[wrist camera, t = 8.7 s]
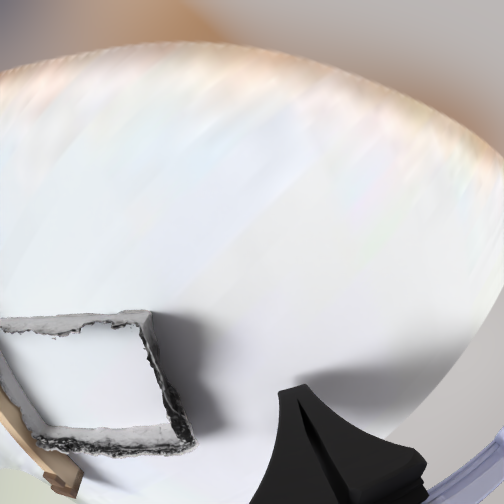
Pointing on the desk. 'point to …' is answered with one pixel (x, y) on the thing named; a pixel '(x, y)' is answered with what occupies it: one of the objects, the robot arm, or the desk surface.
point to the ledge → (41, 451)
